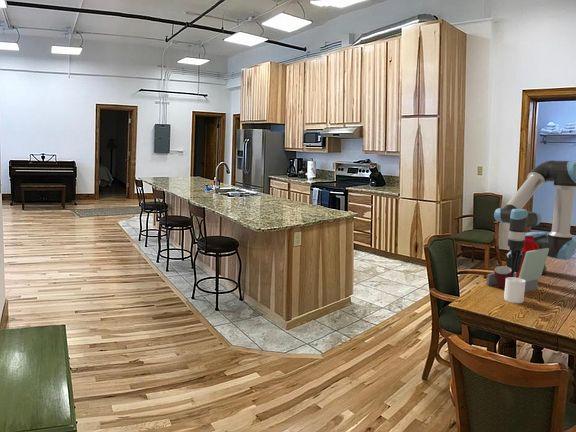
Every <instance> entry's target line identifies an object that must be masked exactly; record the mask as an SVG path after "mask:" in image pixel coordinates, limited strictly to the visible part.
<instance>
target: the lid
mask: <svg viewBox="0 0 576 432" xmlns="http://www.w3.org/2000/svg"><path fill="white" fill-rule="evenodd" d="M548 252H549V248H544V249H538V250H532V251H527V252H526V254H525V257H524V261H523V264H522V268H521V271H520V275H519V278H520V279H523V280H525V281H526V282H528V281H532V280H537V279H538V280H541V278H542V275H543V274H542V271H543V268H544V265H546V262H547V261H546V260H547V258H548V256H547V255H548Z"/></svg>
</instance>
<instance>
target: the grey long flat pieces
mask: <svg viewBox="0 0 576 432" xmlns="http://www.w3.org/2000/svg"><path fill="white" fill-rule="evenodd" d="M485 285H486V286H488V287H490V286H495V285H498V284H497V282H496V279H495V275H494V272H492V273H487V274H486V283H485ZM538 285H539V279H537V280H532V281H528V282H525V292H524V293H528V292H531V291H535V290H538Z"/></svg>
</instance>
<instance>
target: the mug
mask: <svg viewBox="0 0 576 432" xmlns="http://www.w3.org/2000/svg"><path fill="white" fill-rule="evenodd" d="M493 273H494V275H495V279H496V282H497V284H496V285H497V286H498V287H499V288H500V289H504V290H505V281H506V278H508V277H512V269H511V268H510V267H507V265H498V266H496V267H495V268H494V269H493Z"/></svg>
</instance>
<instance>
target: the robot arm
mask: <svg viewBox="0 0 576 432" xmlns="http://www.w3.org/2000/svg"><path fill="white" fill-rule="evenodd" d="M547 182H552V183H553V187H555V189H556V190H555V196H554V197H555V198H554V206H553V216H552V217H553V218H552V225H551V231H550V232H549V233H547V232H546V231H545V232H544V231H530V232H526V231H527V228H528V227H529V228H530V227H536V226H539V225H540V224H541V222H542V215H541V214H540V212H537V211H528V210H527V209H524V207H525V205H527V203H528V202H529V200H530V199H531V198H532V197H533V196H534V194H535V193H536V191H537V190H538V189H539V188H540V187H542V186H543V185H545V183H547ZM522 183H523V184H521V185H520V187H519V188H518V190H517V191H516V192H515V193H514V194H513V196H512V197H511V198H510V199H509V201H508V202H507V203H506V204H505V206H504V207H499V208H496V209H495V210H494V214H493V217H494V220H495V221H496V222H500V223H504V224H509V228H508V229H509V231H508V240H507V246H508V248H509V249H508V253H505V255H504V256H505V261H506V266H507V267H510V268H511V269H512V277H515V278H516V273H517V272H519V271H518V270H520V267H521V263H522V258H523V255H524V252H522V248H524V242H525V241H524V240H525V236H534V241H533V242H535V243H536V244H537V245H538V247H539V249H544V248H549V252H548V255H547V258H552V259H557V260H563V261H564V260H565V261H568V260H570V259H571V258H572V257H573V256H574V254H575V252H576V240H574V239H573V235H572V234H571V233H570V232H571V223H572V216H573V215H572V214H573V207H574V198H575V197H574V196H575V190H576V161H574V160H552V159H551V160H547V161H544V162H542V163H540V164H538V165H537V166H534V168H533V169H532V170H530V172H529V173H528V174H527V176H526V180H525V181H524V182H522ZM546 273H547V265H546V264H545V265H544V268H543V271H542V275H544V274H546Z"/></svg>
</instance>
